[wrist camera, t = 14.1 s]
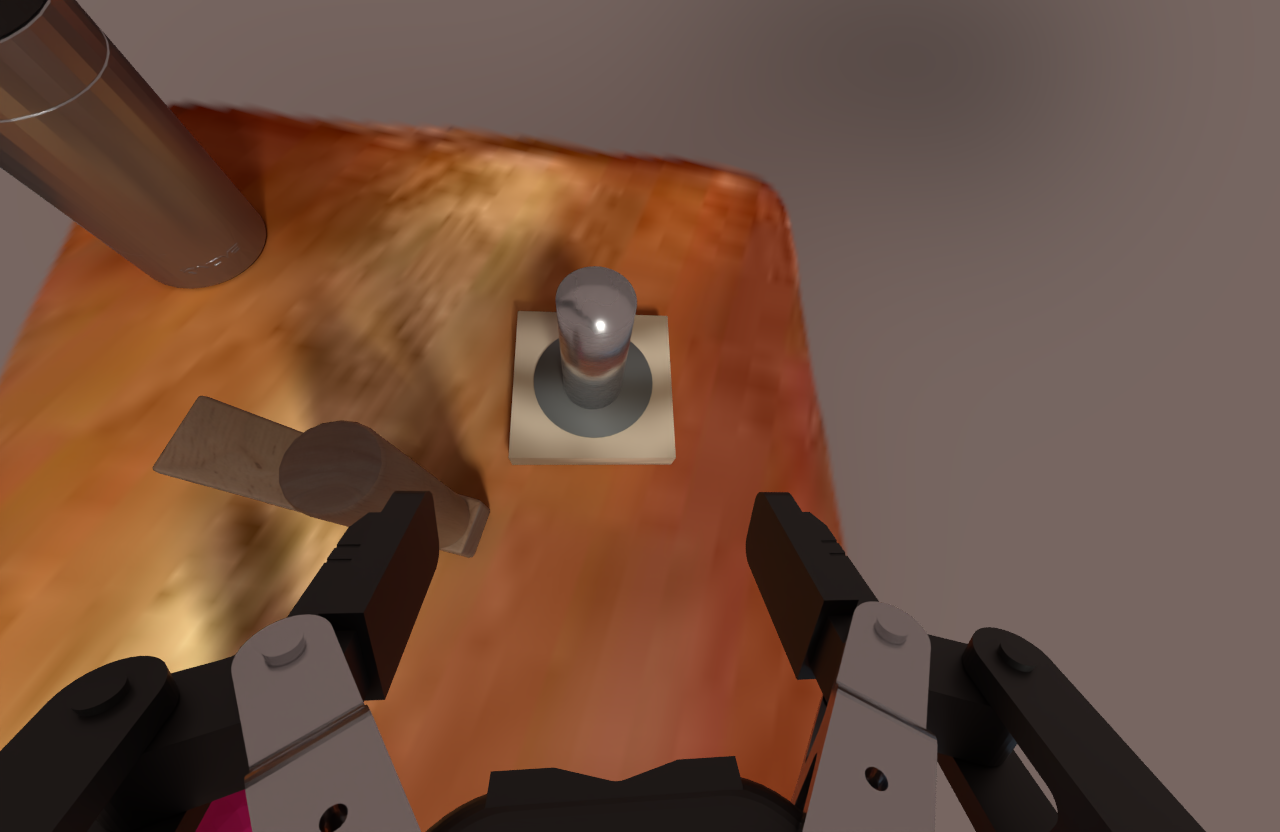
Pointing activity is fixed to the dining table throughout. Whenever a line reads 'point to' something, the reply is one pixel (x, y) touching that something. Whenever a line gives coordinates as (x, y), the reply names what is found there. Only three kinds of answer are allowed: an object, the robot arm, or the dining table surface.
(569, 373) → the axle
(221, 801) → the pepper mill
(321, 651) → the robot arm
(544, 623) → the dining table surface
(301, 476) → the wooden block
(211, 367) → the dining table surface
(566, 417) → the rest block
